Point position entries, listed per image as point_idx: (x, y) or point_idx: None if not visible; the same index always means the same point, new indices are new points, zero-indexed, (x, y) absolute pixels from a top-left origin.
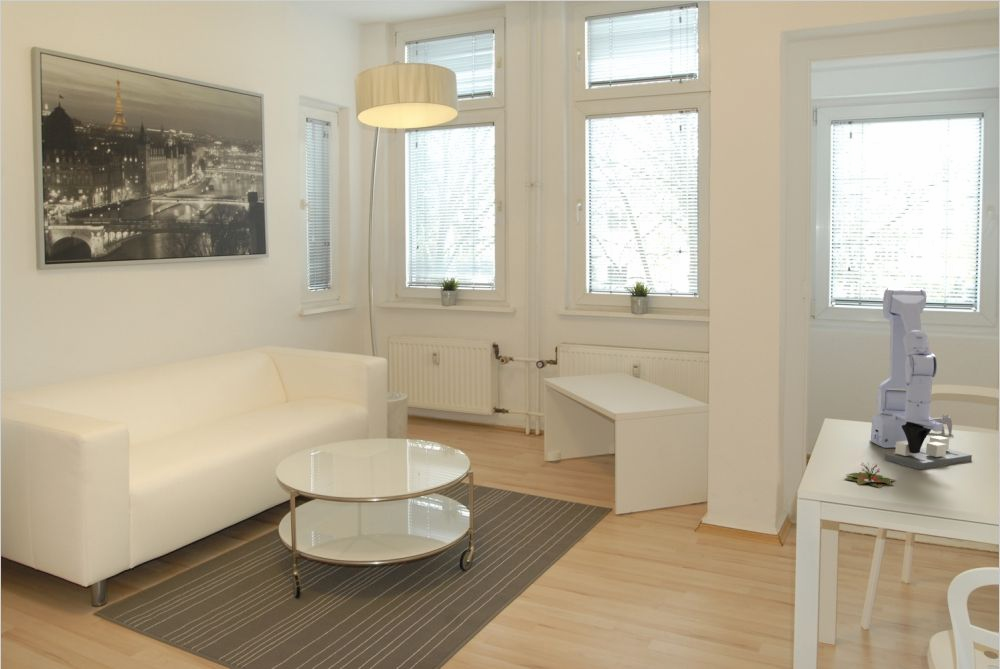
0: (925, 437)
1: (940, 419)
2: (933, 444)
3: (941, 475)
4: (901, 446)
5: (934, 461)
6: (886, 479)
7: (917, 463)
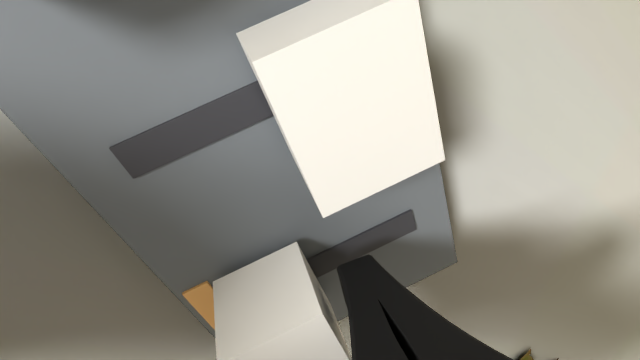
0: (482, 344)
1: None
2: (392, 174)
3: (547, 175)
4: None
5: None
6: None
7: (445, 266)
